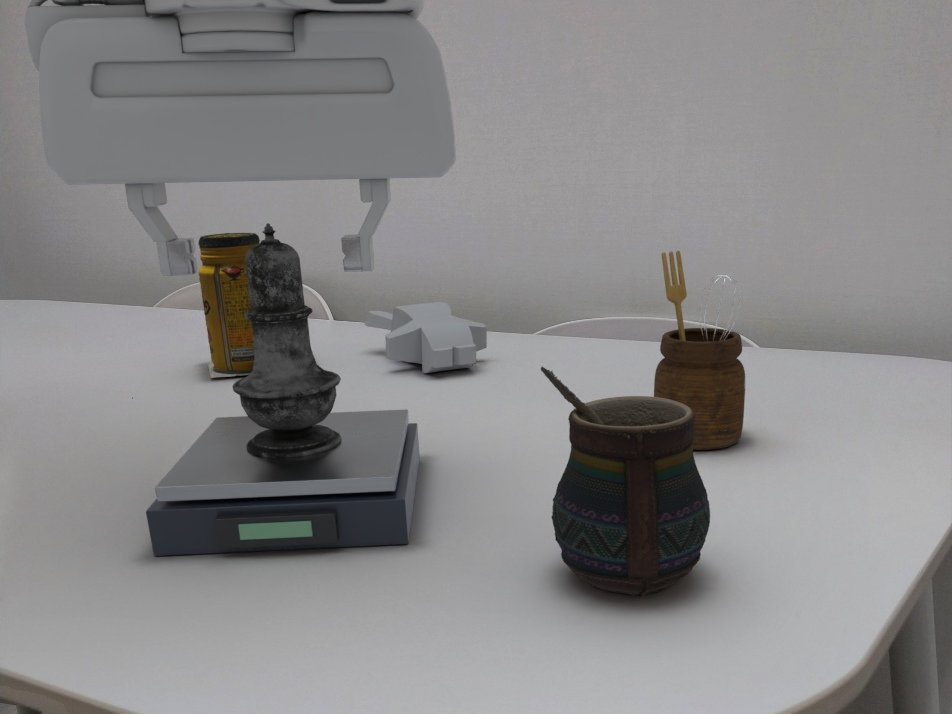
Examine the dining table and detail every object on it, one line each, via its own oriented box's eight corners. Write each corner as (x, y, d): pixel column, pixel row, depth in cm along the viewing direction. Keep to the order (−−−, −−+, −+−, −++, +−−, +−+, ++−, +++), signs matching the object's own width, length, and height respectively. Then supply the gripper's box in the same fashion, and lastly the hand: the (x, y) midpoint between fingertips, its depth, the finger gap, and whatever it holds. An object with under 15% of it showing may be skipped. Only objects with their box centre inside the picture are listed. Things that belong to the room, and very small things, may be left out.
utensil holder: (694, 458, 61) (702, 264, 57) (632, 435, 66) (634, 255, 62) (761, 441, 64) (774, 255, 60) (696, 420, 69) (703, 247, 65)
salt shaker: (218, 449, 54) (185, 227, 50) (296, 423, 59) (271, 217, 54) (292, 465, 51) (263, 230, 47) (368, 437, 56) (348, 219, 51)
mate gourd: (727, 605, 42) (740, 381, 39) (556, 616, 42) (552, 390, 38) (687, 541, 49) (694, 345, 45) (538, 550, 49) (533, 352, 45)
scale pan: (157, 502, 49) (154, 487, 49) (218, 429, 61) (216, 417, 61) (395, 491, 49) (394, 476, 49) (408, 421, 61) (408, 409, 61)
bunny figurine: (402, 336, 81) (352, 292, 93) (404, 394, 83) (355, 343, 95) (505, 324, 84) (445, 283, 96) (505, 380, 87) (445, 333, 99)
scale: (148, 562, 49) (140, 516, 48) (218, 468, 62) (212, 431, 61) (407, 550, 49) (404, 504, 48) (419, 459, 63) (417, 422, 62)
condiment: (207, 364, 92) (187, 233, 88) (297, 355, 95) (282, 227, 90) (211, 380, 86) (190, 240, 81) (307, 370, 88) (292, 234, 84)
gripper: (-14, -31, 43) (46, 286, 48) (448, -37, 44) (459, 276, 49) (44, -11, 49) (92, 269, 54) (450, -17, 50) (460, 261, 55)
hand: (270, 272), depth 51 cm, fingers open, 8 cm apart
